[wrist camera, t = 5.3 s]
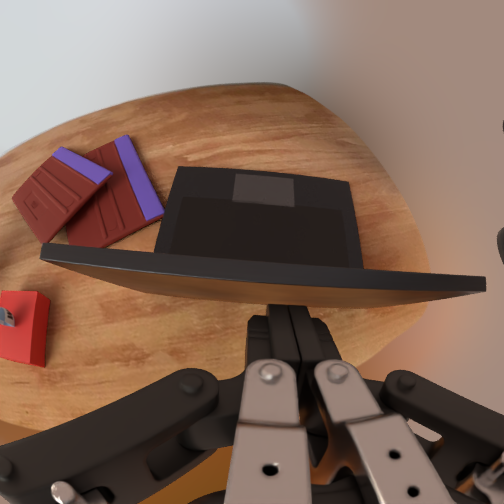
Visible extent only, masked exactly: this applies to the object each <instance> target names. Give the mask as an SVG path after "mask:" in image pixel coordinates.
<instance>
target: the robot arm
mask: <svg viewBox="0 0 504 504" xmlns="http://www.w3.org/2000/svg"><path fill="white" fill-rule="evenodd" d="M503 131H504V121H503ZM299 416H300V420H299ZM409 418H410V419H412V420H413V421H415V422H417V423H419V424H421V425H423V426H425V427H427V428H429V429H431V430H433V431H434V432H436V433H439V434H440V435H441V436H442V437H441V438H440V439H439V440H438V441H435V442H431V441H428V440H426V439H424V438H422V437H420V436H419V435H417V434H415V433H413V432H412V430H411V428H410V427H409V425H408V424H407V421H408V420H409ZM232 445H233V452H232V457H231V464H230V470H229V476H228V482H227V488H226V490H222V491H217V492H214V493H210V494H207V495H204V496H202V497H200V498H197V499H195V500H193V501H192V502H190V503H188V504H504V415H502V414H499V413H497V412H495V411H493V410H490V409H488V408H486V407H484V406H482V405H479V404H477V403H475V402H473V401H471V400H469V399H466V398H464V397H462V396H460V395H458V394H456V393H454V392H452V391H450V390H447V389H445V388H443V387H441V386H439V385H437V384H435V383H433V382H431V381H429V380H427V379H425V378H423V377H421V376H419V375H417V374H415V373H413V372H410V371H406V370H395V371H393V372H390V373H389V374H388V375H387V377H386V379H385V381H384V382H381V381H375V380H368V379H364V378H362V377H361V375H360V373H359V371H358V370H357V369H356V368H355V367H354V366H353V365H351V364H350V363H347V362H345V361H342V358H341V356H340V354H339V351H338V349H337V347H336V345H335V343H334V341H333V338H332V336H331V334H330V332H329V329H328V327H327V325H326V324H325V323H324V322H322V321H321V320H320V319H319V318H311V317H310V314H309V311H308V309H307V306H305V305H285V304H267V309H266V316H262V315H253V316H252V317H251V319H250V320H249V321H248V327H247V338H246V349H245V370H244V371H243V372H242V373H241V374H240V375H238V376H236V377H234V378H231V379H226V380H219V381H218V380H217V378H216V377H215V376H214V375H212V374H211V373H209V372H208V371H205V370H202V369H197V368H186V369H181V370H178V371H176V372H174V373H172V374H170V375H168V376H166V377H164V378H162V379H160V380H158V381H156V382H154V383H152V384H150V385H148V386H146V387H144V388H142V389H140V390H138V391H136V392H134V393H132V394H130V395H128V396H125V397H123V398H121V399H119V400H117V401H115V402H113V403H110V404H108V405H106V406H104V407H101V408H99V409H97V410H95V411H92V412H90V413H88V414H85V415H83V416H81V417H78V418H76V419H73V420H71V421H68V422H66V423H63V424H61V425H58V426H56V427H53V428H51V429H48V430H45V431H43V432H40V433H37V434H34V435H32V436H29V437H26V438H23V439H20V440H18V441H14V442H11V443H8V444H5V445H1V446H0V495H1V496H2V497H3V498H5V499H6V500H7V501H8V502H9V503H10V504H137V503H139V502H141V501H143V500H144V499H146V498H148V497H150V496H151V495H153V494H155V493H156V492H158V491H160V490H161V489H163V488H164V487H166V486H168V485H169V484H171V483H172V482H173V481H175V480H177V479H178V478H180V477H181V476H183V475H184V474H186V473H187V472H189V471H190V470H191V469H193V468H194V467H196V466H197V465H198V464H200V463H201V462H203V461H204V460H205V459H207V458H208V457H209V456H211V455H212V454H213V453H214V452H215V451H216V450H217V448H221V447H227V446H232Z"/></svg>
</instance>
